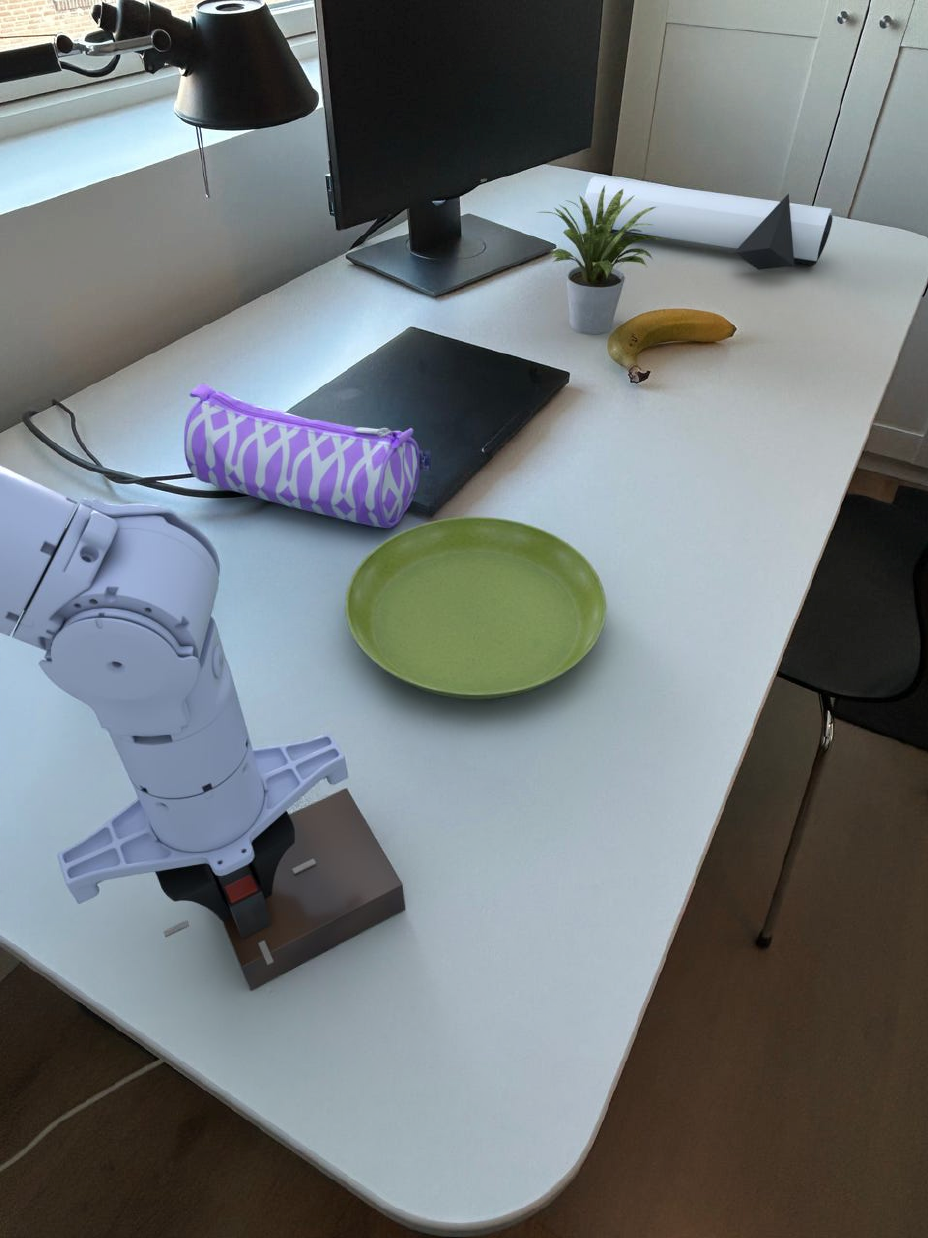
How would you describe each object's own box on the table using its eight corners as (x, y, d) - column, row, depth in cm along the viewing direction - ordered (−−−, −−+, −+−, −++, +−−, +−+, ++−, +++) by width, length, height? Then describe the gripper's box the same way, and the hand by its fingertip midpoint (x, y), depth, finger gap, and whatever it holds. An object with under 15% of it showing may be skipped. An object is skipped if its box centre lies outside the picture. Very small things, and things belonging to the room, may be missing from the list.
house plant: (561, 364, 104) (572, 221, 92) (509, 317, 113) (513, 181, 102) (663, 340, 108) (685, 200, 97) (605, 296, 117) (619, 164, 106)
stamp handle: (212, 871, 52) (198, 836, 50) (241, 857, 53) (229, 821, 50) (242, 940, 49) (229, 906, 47) (272, 924, 50) (261, 890, 47)
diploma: (583, 251, 137) (562, 219, 124) (599, 190, 135) (580, 151, 123) (814, 290, 126) (817, 259, 113) (835, 224, 124) (840, 184, 112)
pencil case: (434, 493, 85) (431, 406, 79) (398, 550, 79) (391, 461, 72) (232, 453, 91) (214, 369, 84) (184, 504, 84) (160, 418, 78)
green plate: (312, 696, 66) (307, 667, 64) (390, 531, 81) (387, 502, 79) (585, 743, 63) (589, 714, 61) (615, 562, 77) (619, 533, 75)
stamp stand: (201, 1029, 49) (188, 1005, 47) (155, 897, 55) (141, 870, 52) (410, 917, 53) (407, 891, 51) (347, 807, 59) (342, 779, 57)
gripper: (47, 887, 36) (135, 1020, 46) (363, 743, 42) (383, 889, 51) (15, 768, 41) (101, 912, 50) (303, 652, 46) (333, 801, 55)
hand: (240, 894), depth 51 cm, fingers closed on stamp handle, 2 cm apart
